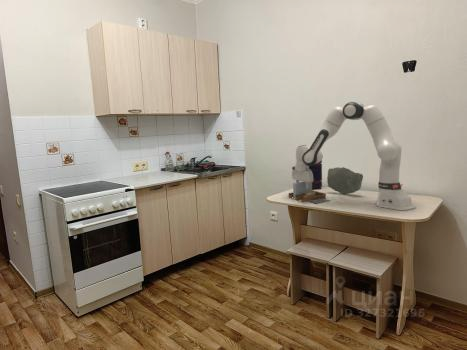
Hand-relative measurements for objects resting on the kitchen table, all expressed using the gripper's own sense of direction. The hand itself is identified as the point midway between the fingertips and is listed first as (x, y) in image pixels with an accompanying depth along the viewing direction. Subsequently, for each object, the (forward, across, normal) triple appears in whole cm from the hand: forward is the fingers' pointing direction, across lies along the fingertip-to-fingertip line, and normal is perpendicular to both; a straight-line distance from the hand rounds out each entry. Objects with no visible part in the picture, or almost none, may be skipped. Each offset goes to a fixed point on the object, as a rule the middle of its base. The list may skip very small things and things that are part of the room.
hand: (302, 187), depth 234 cm
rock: (+8, -11, -29) cm, 32 cm away
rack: (+7, -4, 0) cm, 9 cm away
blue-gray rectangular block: (+8, 0, 0) cm, 8 cm away
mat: (+7, -17, -1) cm, 19 cm away
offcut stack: (+7, -7, 0) cm, 10 cm away
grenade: (+8, +22, -27) cm, 36 cm away
